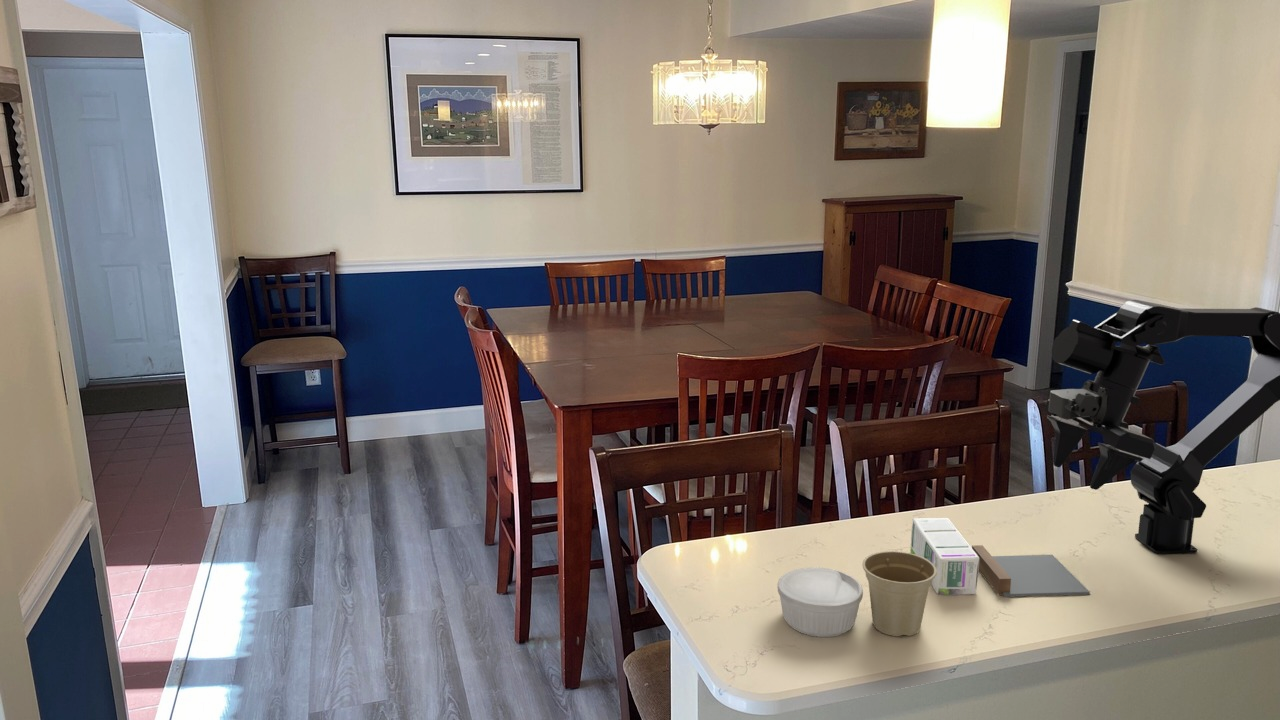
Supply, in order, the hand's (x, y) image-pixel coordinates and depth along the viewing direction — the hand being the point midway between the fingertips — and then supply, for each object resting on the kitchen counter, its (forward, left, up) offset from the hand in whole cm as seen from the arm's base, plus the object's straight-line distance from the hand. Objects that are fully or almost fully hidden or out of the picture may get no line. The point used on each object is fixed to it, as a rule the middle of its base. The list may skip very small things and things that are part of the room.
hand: (1074, 477), depth 139 cm
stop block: (+15, +8, -12) cm, 21 cm away
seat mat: (+9, +8, -12) cm, 17 cm away
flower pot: (+32, +21, -12) cm, 40 cm away
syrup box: (+21, -2, -9) cm, 23 cm away
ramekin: (+42, +19, -13) cm, 48 cm away
